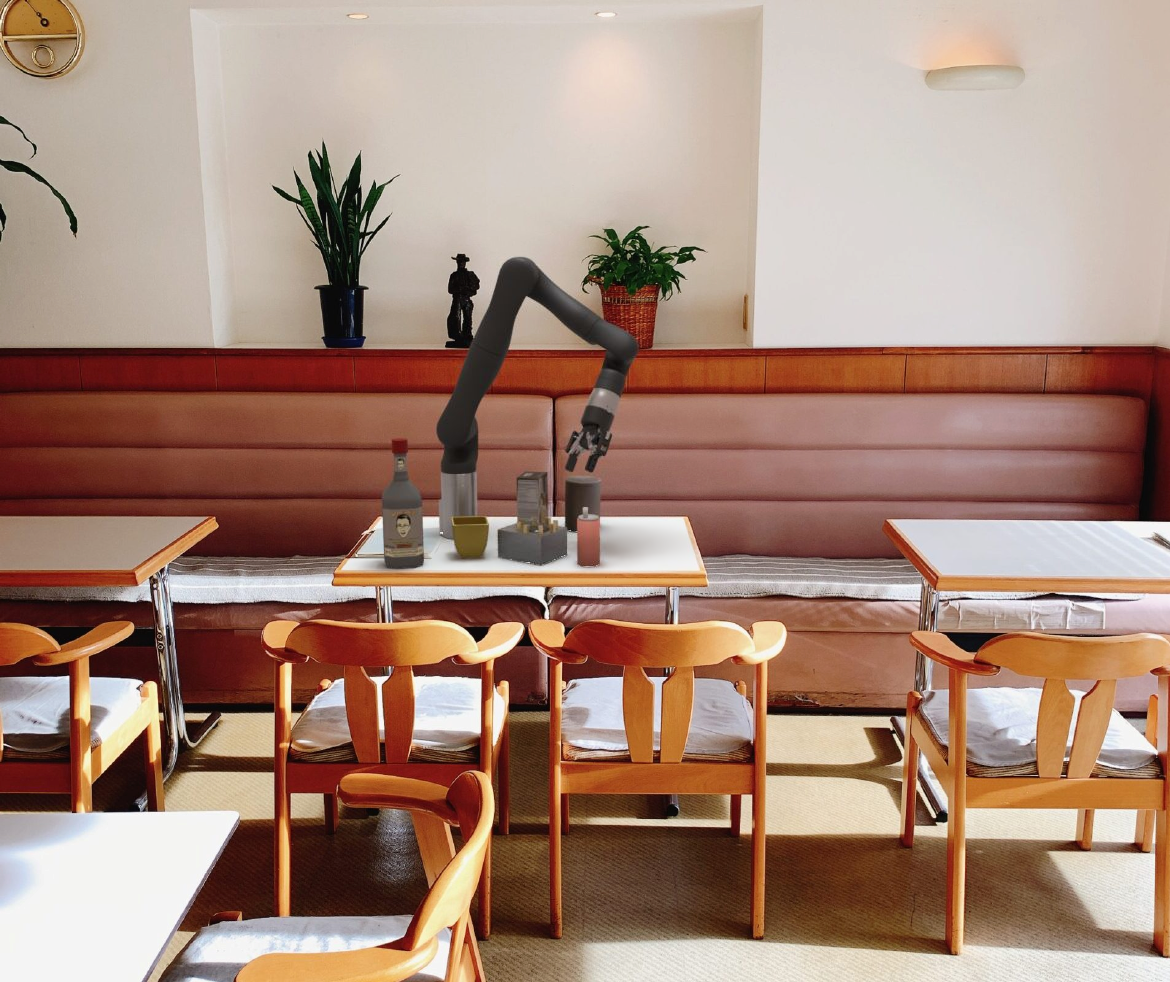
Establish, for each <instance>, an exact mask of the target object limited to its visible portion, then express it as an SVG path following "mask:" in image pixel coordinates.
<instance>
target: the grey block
mask: <svg viewBox="0 0 1170 982" xmlns="http://www.w3.org/2000/svg"><path fill="white" fill-rule="evenodd" d="M564 555H566V556H568V530H567V527H565V526H559V520H558V519H553V520H552V517H549V516H548V517H546V518H545V524H543V523H537V517H532V522H531V521H525V519H524V518H521V519H520V522H517V521H516V523H513V524H510V525H507V526H504V527H501V528H497V558H500V559H504V558H505V560H510V559H512V560H511V561H515V560H516V561H515V562H520V561H523V562H522V563H525V562H530V563H529V564H531V563H534V564H533V565H536V564H540V565H539V566H543V565H542V564H544V565H546V564H548V563H547V562H549V561H551V562H553V561H552V560H554V559H556V560H558V559H557V558H559V557H561V556H564ZM564 557H565V556H564ZM561 558H562V557H561ZM559 559H560V558H559ZM554 561H555V560H554ZM545 563H546V564H545ZM549 563H550V562H549Z"/></svg>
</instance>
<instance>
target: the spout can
mask: <svg viewBox="0 0 1170 982" xmlns="http://www.w3.org/2000/svg"><path fill="white" fill-rule="evenodd" d="M576 536H577V538H576V539H577V541H576V542H577V543H576V551H577V552H576V555H577V557H576V558H577V559H576V563H577V565H578V564H579V565H580V567H583V566H594V567H597V566H596V565H598V564H601V517H600V518H599V516H598V515H593V514H588V507H583V515H580V516H578V518H577V532H576ZM579 565H578V566H579ZM598 566H599V565H598Z"/></svg>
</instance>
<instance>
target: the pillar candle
mask: <svg viewBox="0 0 1170 982" xmlns="http://www.w3.org/2000/svg"><path fill="white" fill-rule="evenodd" d="M564 481H565V483H564V484H565V485H564V486H565V487H564V527H567V531H568V530H571V531H577V518H578V516H580V515H583V507H588V514H593V515H598V516H599V518H600V519H601V495H602V494H601V486H602V484H601V483H602V479H601V478H600V477H596V476H590V475H583V474H581V475H574V476H573V475H572V476H568V477H566V478H565V480H564Z"/></svg>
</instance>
